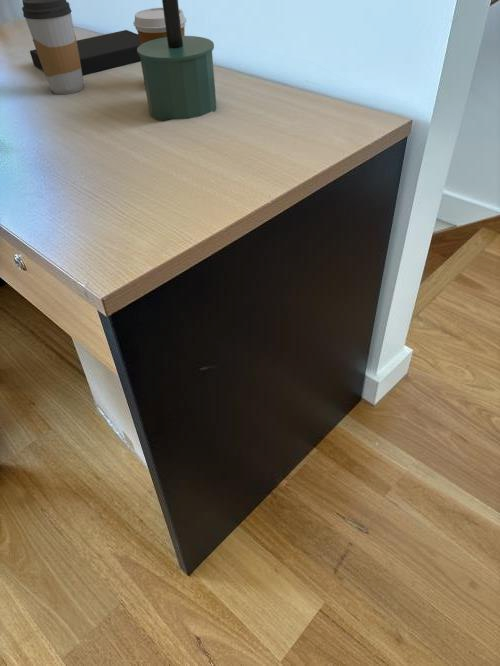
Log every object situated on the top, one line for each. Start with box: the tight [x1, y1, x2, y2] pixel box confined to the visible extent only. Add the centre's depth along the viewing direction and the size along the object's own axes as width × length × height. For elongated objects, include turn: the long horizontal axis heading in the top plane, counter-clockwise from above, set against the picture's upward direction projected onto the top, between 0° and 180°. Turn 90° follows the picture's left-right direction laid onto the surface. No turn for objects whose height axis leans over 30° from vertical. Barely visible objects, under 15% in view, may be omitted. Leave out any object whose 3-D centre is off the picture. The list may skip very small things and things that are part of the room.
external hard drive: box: [29, 29, 141, 76], centre depth 111 cm, size 14×23×3 cm, turn 127°
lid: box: [137, 0, 215, 61], centre depth 80 cm, size 12×12×10 cm
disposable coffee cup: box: [132, 7, 187, 44], centre depth 95 cm, size 10×10×12 cm
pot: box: [140, 51, 217, 122], centre depth 86 cm, size 12×12×10 cm
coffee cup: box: [21, 0, 85, 95], centre depth 94 cm, size 8×8×15 cm
